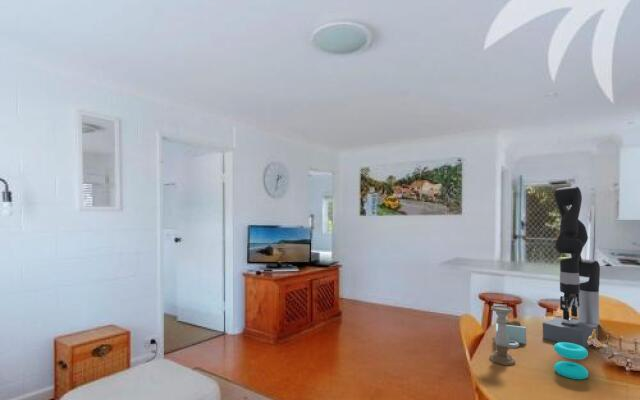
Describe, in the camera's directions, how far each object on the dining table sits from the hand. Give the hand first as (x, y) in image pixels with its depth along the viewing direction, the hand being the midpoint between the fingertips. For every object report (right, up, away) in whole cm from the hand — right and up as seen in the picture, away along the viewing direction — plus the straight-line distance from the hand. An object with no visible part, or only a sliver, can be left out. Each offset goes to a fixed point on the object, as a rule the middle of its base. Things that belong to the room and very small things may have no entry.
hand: (570, 317), depth 167 cm
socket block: (0, -10, 0) cm, 10 cm away
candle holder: (-44, -9, -26) cm, 51 cm away
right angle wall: (-31, -10, -8) cm, 34 cm away
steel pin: (0, -9, 0) cm, 9 cm away
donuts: (-25, -8, -37) cm, 45 cm away
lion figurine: (-25, -10, +6) cm, 27 cm away
